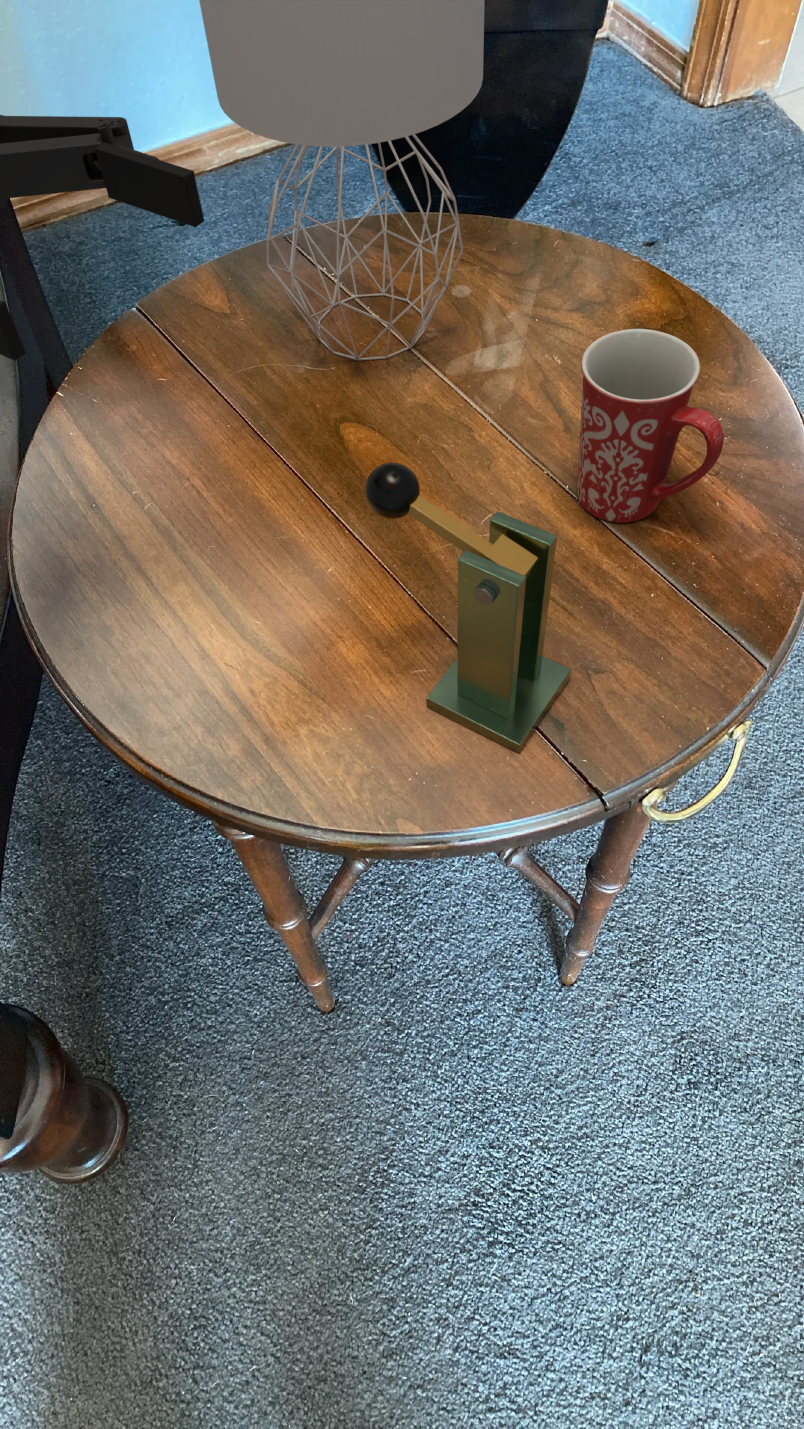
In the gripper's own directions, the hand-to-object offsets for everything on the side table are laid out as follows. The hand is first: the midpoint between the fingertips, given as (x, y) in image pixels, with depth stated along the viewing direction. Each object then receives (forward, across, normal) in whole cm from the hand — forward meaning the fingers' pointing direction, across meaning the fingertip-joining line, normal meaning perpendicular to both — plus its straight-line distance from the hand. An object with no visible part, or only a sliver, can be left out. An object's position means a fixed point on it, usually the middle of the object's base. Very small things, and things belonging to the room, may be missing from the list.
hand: (108, 261), depth 49 cm
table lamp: (-15, -42, -33) cm, 56 cm away
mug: (+19, -32, -34) cm, 50 cm away
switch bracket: (+19, -8, -34) cm, 40 cm away
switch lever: (+14, -8, -20) cm, 26 cm away
